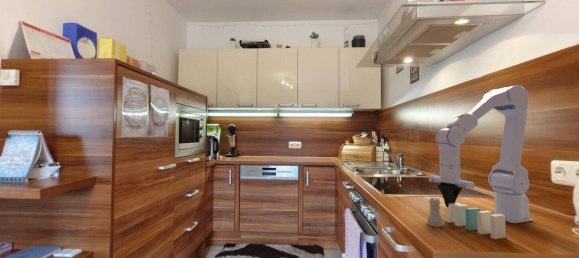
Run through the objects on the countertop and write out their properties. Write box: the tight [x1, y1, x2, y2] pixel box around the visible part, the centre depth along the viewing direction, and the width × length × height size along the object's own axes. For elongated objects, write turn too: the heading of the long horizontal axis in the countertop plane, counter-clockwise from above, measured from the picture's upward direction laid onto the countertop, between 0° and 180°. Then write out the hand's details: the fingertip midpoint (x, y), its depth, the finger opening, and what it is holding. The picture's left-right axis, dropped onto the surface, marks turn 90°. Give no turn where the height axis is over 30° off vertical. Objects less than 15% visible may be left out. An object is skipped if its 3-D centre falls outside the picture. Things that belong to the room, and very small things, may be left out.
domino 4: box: [477, 210, 493, 235], centre depth 75 cm, size 4×1×6 cm, turn 109°
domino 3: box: [465, 207, 481, 231], centre depth 78 cm, size 4×1×6 cm, turn 104°
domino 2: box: [454, 204, 469, 227], centre depth 81 cm, size 4×1×6 cm, turn 109°
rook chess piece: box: [426, 197, 444, 228], centre depth 81 cm, size 4×4×8 cm
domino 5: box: [490, 214, 506, 240], centre depth 71 cm, size 4×1×6 cm, turn 109°
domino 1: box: [444, 202, 462, 224], centre depth 84 cm, size 4×1×6 cm, turn 109°
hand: (449, 207), depth 85 cm, fingers closed
